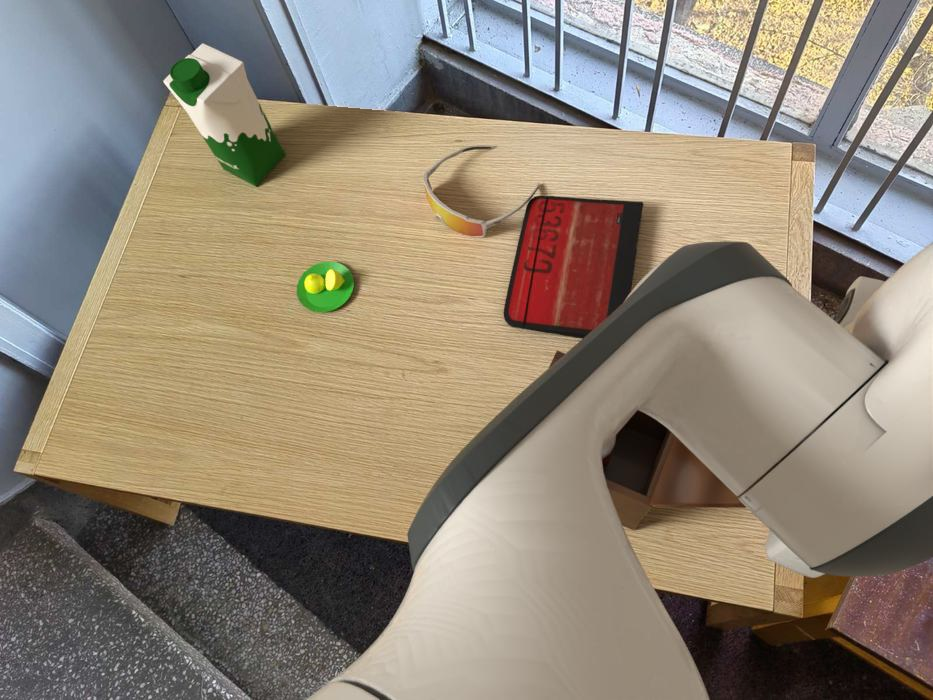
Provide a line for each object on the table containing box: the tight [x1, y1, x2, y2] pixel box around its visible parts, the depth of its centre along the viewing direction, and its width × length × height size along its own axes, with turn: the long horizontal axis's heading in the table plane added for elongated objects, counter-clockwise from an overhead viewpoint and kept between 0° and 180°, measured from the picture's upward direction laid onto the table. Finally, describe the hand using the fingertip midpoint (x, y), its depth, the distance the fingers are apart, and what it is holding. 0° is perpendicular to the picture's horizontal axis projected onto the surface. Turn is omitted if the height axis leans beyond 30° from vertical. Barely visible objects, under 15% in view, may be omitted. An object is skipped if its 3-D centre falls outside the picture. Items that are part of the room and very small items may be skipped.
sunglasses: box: [423, 144, 541, 239], centre depth 97 cm, size 14×15×5 cm
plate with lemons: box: [296, 261, 355, 313], centre depth 93 cm, size 8×8×3 cm
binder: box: [503, 195, 644, 340], centre depth 91 cm, size 16×2×21 cm
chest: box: [547, 350, 675, 531], centre depth 75 cm, size 15×12×13 cm
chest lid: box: [650, 436, 748, 509], centre depth 59 cm, size 16×12×1 cm
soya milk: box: [162, 42, 286, 188], centre depth 96 cm, size 9×9×20 cm
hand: (800, 459), depth 55 cm, fingers closed
